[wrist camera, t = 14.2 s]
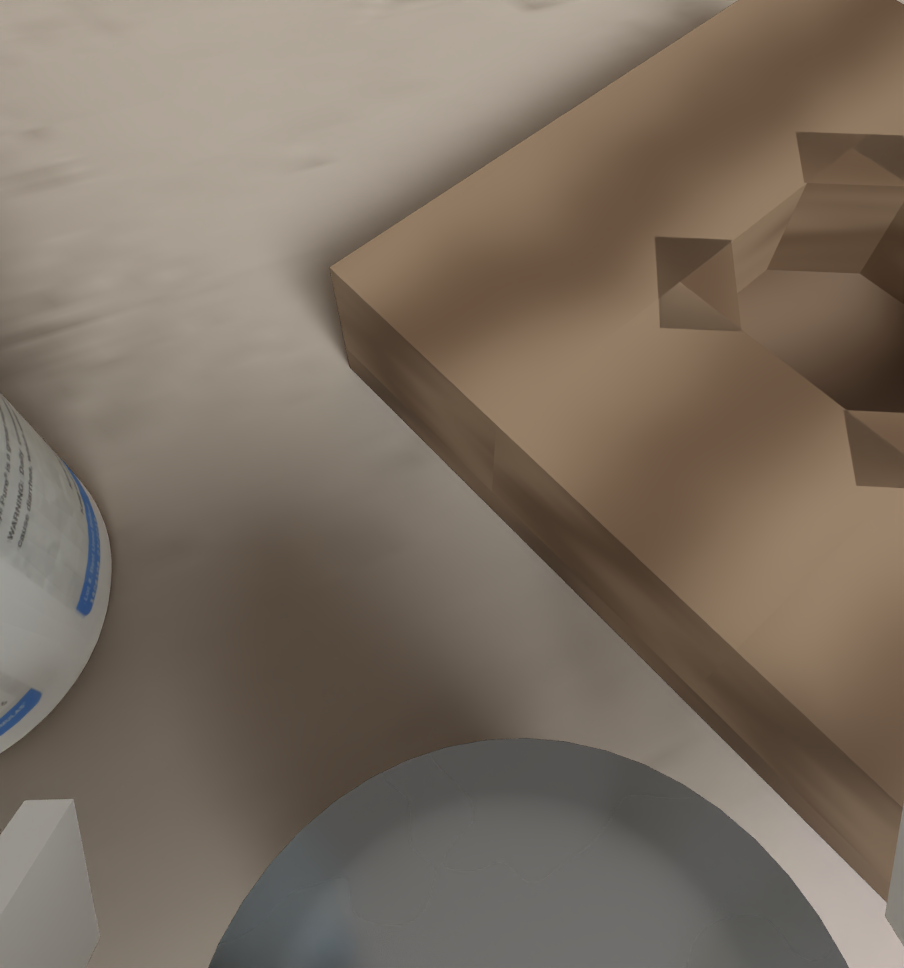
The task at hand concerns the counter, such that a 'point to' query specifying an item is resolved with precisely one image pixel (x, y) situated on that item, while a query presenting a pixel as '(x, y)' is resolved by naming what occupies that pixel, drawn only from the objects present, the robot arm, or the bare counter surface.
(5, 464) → the supplement tub
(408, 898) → the silver capped jar
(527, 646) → the counter surface
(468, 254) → the walnut socket block
